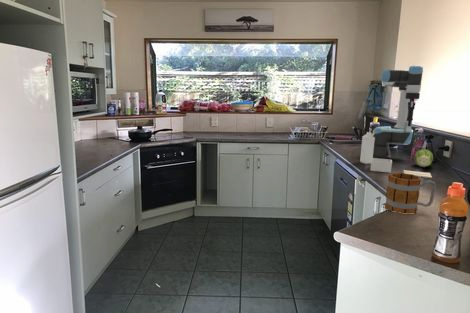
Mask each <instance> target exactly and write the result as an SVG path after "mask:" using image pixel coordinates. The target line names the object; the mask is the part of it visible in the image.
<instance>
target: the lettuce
mask: <svg viewBox="0 0 470 313" xmlns="http://www.w3.org/2000/svg"><path fill="white" fill-rule="evenodd" d="M413 159H414V162H415V164H416V165H417V166H418V167H421V168H426V167H429V166H430V165H432V163H433V161H434V155H433V153H432V152H431V151H430V150H429V149H423V148H422V149H419V150H417V151H416V152H415V154H414V157H413Z"/></svg>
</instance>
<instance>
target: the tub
mask: <svg viewBox="0 0 470 313" xmlns="http://www.w3.org/2000/svg"><path fill="white" fill-rule="evenodd" d="M392 164H393V160H392V159H389V158H376V157H373V158H372V160H371V163H370V169H369V171H372V172H373V171H374V172H381V173H382V172H383V173H389V174H390V173H392V167H393V165H392Z"/></svg>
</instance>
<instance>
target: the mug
mask: <svg viewBox="0 0 470 313" xmlns="http://www.w3.org/2000/svg"><path fill="white" fill-rule="evenodd" d="M387 176H388V177H387V178H388V182H387V188H386V194H385V197H386V199H385V206H384V209H386V210H387V211H389V210H392V211H396V212H401V213H416V214H417V212H418V206H422V207H425V208H426V207H431V205H432V204H433V202H434V198H435V195H436V194H435V193H436V190H437V186H436V185H437V184H436V182H435V181H432V180H431V179H429V180H428V179H427V180H425V181H424V182H422V178H423V177H421V176H417V175H413V174H406V173H404V172H391V173H390V172H389V174H388V175H387ZM421 182H422V183H421ZM428 184H432V188H431V192H430V196H429V197H430V198H429V201H428V203H424V202H421V201H420V202H419V198H420V197H419V196H420V191H421V190H420V188H421V187H422V188H424V187H425V186H427V185H428ZM416 211H417V212H416Z"/></svg>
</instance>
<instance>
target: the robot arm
mask: <svg viewBox="0 0 470 313" xmlns="http://www.w3.org/2000/svg"><path fill="white" fill-rule="evenodd" d="M423 72H424V67H423V66H422V65H411V66H409V67H408V69H384V70H382V72H381V78H380V81H381V82H382V83H383V85H385V86H386V87H387V86H388V87H389V88H398V91H399V95H400V96H399V102H398V110H397V111H398V112H397V120H396V124H395V125H394V126H393V129H404V123H405V122H407V126H406V132H404V133H399V132H384V131H381V128H391V129H392V127H391V126H390V125H389V126H378V127H375V128H374V130H373V137H374V138H375V140H374V150H373V158H378V159H390V158H391V151H390V148H389V147H390V145H400V146H405V145H406V146H407V145H410V144H411V141H412V138H413V133H414V130H413V129H412V128H411V127H412V126H413V121H414V118H413V117H414V111H415V108H416V107H415V106H416V102H415V100H420V96H421V94H420V92H421V87H422V80H423ZM407 132H411V133H407Z"/></svg>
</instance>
